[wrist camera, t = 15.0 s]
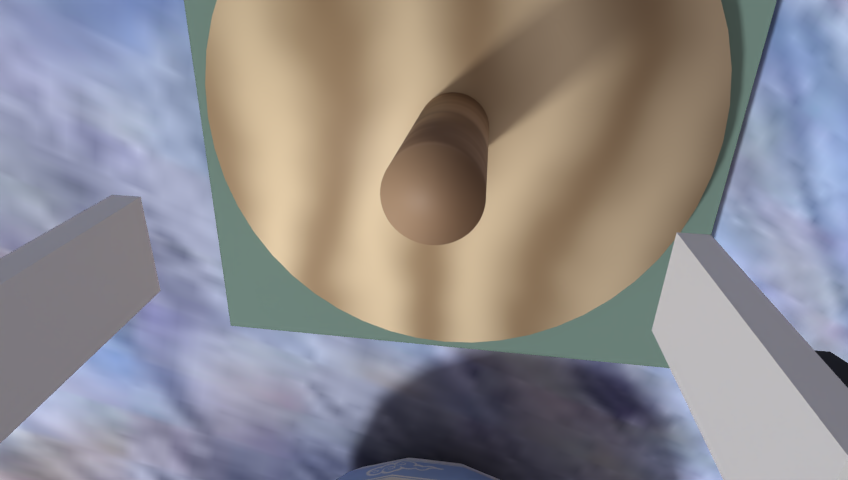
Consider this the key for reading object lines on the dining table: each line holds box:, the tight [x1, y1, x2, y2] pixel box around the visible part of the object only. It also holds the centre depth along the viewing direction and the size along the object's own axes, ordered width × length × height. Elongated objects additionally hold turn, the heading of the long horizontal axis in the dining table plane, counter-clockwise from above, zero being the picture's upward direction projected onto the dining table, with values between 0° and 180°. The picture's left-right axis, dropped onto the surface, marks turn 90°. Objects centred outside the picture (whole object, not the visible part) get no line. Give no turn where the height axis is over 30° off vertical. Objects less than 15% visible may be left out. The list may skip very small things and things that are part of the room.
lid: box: [205, 0, 732, 343], centre depth 23 cm, size 26×26×11 cm
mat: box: [184, 0, 777, 368], centre depth 28 cm, size 28×28×1 cm
